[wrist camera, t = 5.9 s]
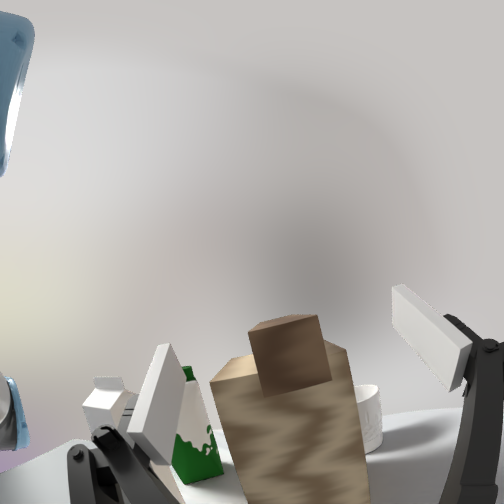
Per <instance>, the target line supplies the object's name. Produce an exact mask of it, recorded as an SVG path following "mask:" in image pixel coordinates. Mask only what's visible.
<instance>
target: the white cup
mask: <svg viewBox="0 0 504 504" xmlns="http://www.w3.org/2000/svg"><path fill="white" fill-rule="evenodd" d="M354 391H355V396H356V401H357V407H358V413H359V418H360V424H361V431H362V437H363V444H364V451H365V454H366V453H369V452H371V451H373V450H375V449H376V448H378V447H379V446H380V445H381V443H382V441H383V435H382V413H381V404H380V394H379V388H378V387H377V386H376V385H360V386H356V387H354Z"/></svg>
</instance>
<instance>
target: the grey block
mask: <svg viewBox="0 0 504 504" xmlns="http://www.w3.org/2000/svg"><path fill="white" fill-rule="evenodd" d="M76 444H84V445H85V446H86V447H87V448H88V449H89V450H90V449H95V448H98V447H97V446H96V445H95V444H94V443H93V442H92V441H88V440H79V439H73V440H71V441H69V442H67V443H65V444H63V445H61V446H59V447H57V448H55V449H53V450H51V451H49V452H47V453H45V454H43V455H41V456H39V457H36V458H34V459H32V460H30V461H28V462H25V463H23V464H21V465H19V466H16V467H14V468H12V469H9V470H7V471H4V472H2V473H0V504H70V495H69V485H68V472H67V452H68V451H69V449H70V448H71V447H72V446H74V445H76ZM149 466H150V467H151V468H152V465H151V463H149ZM152 469H153V468H152ZM153 471H154V470H153ZM120 489H121V487H120ZM121 492H122V496H123V500H124V503H125V504H131V503H130V502H129V500H128V498H127V497H126V495H125V494H124V492H123V490H122V489H121Z"/></svg>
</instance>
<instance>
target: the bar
mask: <svg viewBox="0 0 504 504" xmlns="http://www.w3.org/2000/svg"><path fill="white" fill-rule="evenodd" d="M248 335H249V340H250V343H251V347H252V352H253V356H254V360H255V364H256V368H257V372H258V376H259V380H260V384H261V388H262V392H263V396H264V398H266V397H271V396H275V395H280V394H284V393H288V392H292V391H296V390H300V389H304V388H308V387H311V386H315V385H319V384H322V383H325V382H329V381H332V376H331V371H330V367H329V362H328V358H327V353H326V349H325V345H324V340H323V337H322V332H321V328H320V324H319V320H318V316H317V315H288V316H284V317H280V318H277V319H272V320H268V321H264V322H260V323H259V324H258V325H256V326H255V327H254V328H253V329H251V330H250V331H249V332H248Z"/></svg>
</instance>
